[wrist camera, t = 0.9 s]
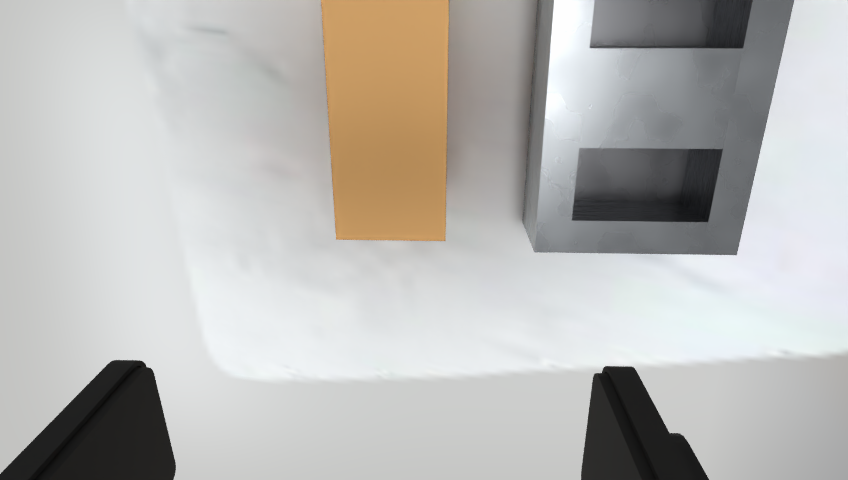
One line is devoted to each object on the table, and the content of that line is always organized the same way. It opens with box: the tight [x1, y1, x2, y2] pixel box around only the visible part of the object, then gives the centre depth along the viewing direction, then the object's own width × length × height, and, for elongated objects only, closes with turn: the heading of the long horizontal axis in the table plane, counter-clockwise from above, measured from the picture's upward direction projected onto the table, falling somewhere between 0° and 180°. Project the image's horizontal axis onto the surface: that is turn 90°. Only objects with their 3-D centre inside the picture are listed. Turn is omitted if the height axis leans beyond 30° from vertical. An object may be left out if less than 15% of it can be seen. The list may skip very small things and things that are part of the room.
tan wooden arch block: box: [321, 0, 449, 241], centre depth 26 cm, size 12×5×7 cm, turn 0°
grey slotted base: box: [523, 0, 794, 255], centre depth 27 cm, size 15×10×4 cm, turn 0°
